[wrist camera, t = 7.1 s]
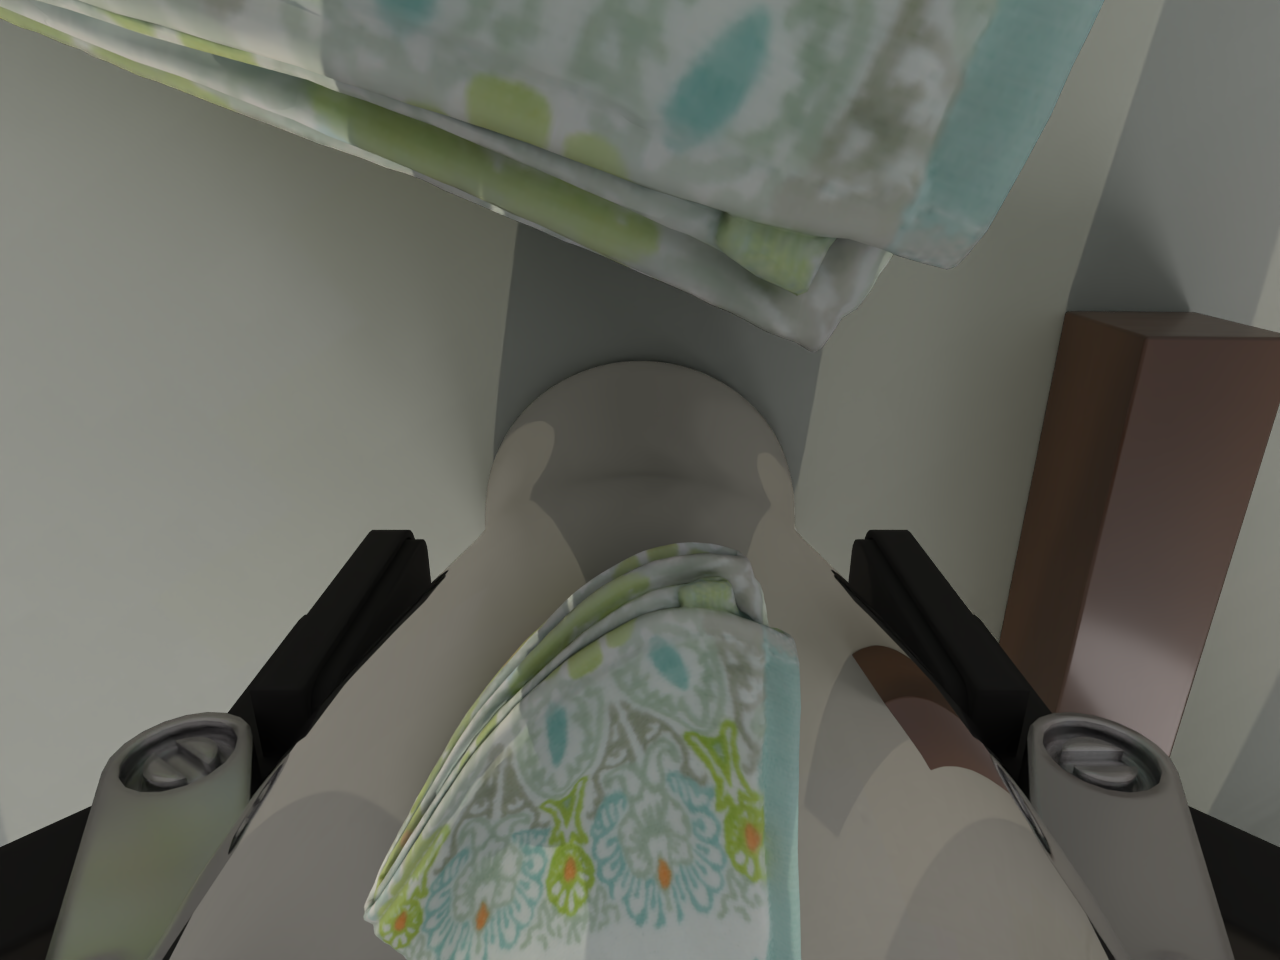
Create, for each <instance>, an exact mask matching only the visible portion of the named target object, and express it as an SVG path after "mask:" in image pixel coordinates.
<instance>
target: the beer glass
mask: <svg viewBox="0 0 1280 960" xmlns="http://www.w3.org/2000/svg"><path fill="white" fill-rule="evenodd" d="M147 960H1131V959H1130V957H1129V955H1128V954H1127V952H1126V950H1125V948H1124V947H1123V945H1122V943H1121V942H1120V940H1119V938H1118V937H1117V935H1116V933H1115V931H1114V930H1113V928H1112V926H1111V925H1110V923H1109V921H1108V920H1107V918H1106V916H1105V914H1104V913H1103V911H1102V909H1101V908H1100V906H1099V904H1098V903H1097V901H1096V899H1095V898H1094V896H1093V895H1092V893H1091V892H1090V890H1089V889H1088V887H1087V886H1086V884H1085V883H1084V881H1083V880H1082V878H1081V877H1080V875H1079V874H1078V872H1077V871H1076V869H1075V868H1074V866H1073V865H1072V863H1071V862H1070V860H1069V859H1068V858H1067V856H1066V855H1065V853H1064V852H1063V850H1062V849H1061V847H1060V846H1059V844H1058V843H1057V841H1056V840H1055V838H1054V837H1053V835H1052V834H1051V832H1050V831H1049V829H1048V828H1047V826H1046V825H1045V823H1044V822H1043V820H1042V819H1041V818H1040V816H1039V815H1038V813H1037V812H1036V810H1035V809H1034V807H1033V806H1032V804H1031V803H1030V801H1029V800H1028V798H1027V797H1026V795H1025V794H1024V792H1023V791H1022V789H1021V788H1020V786H1019V785H1018V783H1017V782H1016V780H1015V779H1014V778H1013V776H1012V775H1011V773H1010V772H1009V770H1008V769H1007V767H1006V766H1005V764H1004V763H1003V761H1002V760H1001V758H1000V757H999V755H998V754H997V752H996V751H995V749H994V748H993V747H992V745H991V744H990V742H989V741H988V740H987V738H986V737H985V736H984V734H983V733H982V732H981V731H980V729H979V728H978V727H977V726H976V725H975V723H974V722H973V721H972V720H971V719H970V717H969V716H968V715H967V714H966V713H965V712H964V710H963V709H962V708H961V707H960V706H959V704H958V703H957V702H956V701H955V700H954V699H953V697H952V696H951V695H950V694H949V693H948V691H947V690H946V689H945V688H944V687H943V686H942V684H941V683H940V682H939V681H938V680H937V678H936V677H935V676H934V675H933V674H932V673H931V671H930V670H929V669H928V668H927V667H926V665H925V664H924V663H923V662H922V661H921V660H920V658H919V657H918V656H917V655H916V654H915V652H914V651H913V650H912V649H911V648H910V647H909V645H908V644H907V643H906V642H905V641H904V640H903V639H902V637H901V636H900V635H899V634H898V633H897V632H896V631H895V630H894V629H893V628H892V627H891V626H890V625H889V624H888V623H887V622H886V621H885V620H884V619H883V618H882V617H881V616H880V614H879V613H878V612H877V611H876V610H875V609H874V608H873V607H872V606H871V605H870V604H869V603H868V602H867V601H866V600H865V599H864V598H863V597H862V596H861V595H860V594H859V593H858V592H857V591H856V590H855V589H854V588H853V587H852V586H851V585H850V584H849V583H848V582H847V581H846V580H845V579H844V578H843V577H842V576H841V575H840V574H839V573H838V572H837V571H836V570H835V569H834V568H833V567H832V566H831V565H830V564H829V563H828V562H827V561H826V560H825V559H824V558H823V557H822V556H821V555H820V554H819V553H818V552H817V551H816V550H815V549H814V548H812V547H811V546H810V545H809V544H808V543H807V542H806V541H805V540H804V539H803V538H802V537H801V535H800V534H799V533H798V532H797V531H796V530H795V505H794V492H793V485H792V480H791V475H790V471H789V467H788V464H787V461H786V458H785V455H784V452H783V450H782V447H781V445H780V443H779V441H778V439H777V437H776V435H775V434H774V432H773V430H772V429H771V427H770V426H769V424H768V423H767V422H766V420H765V419H764V418H763V417H762V415H761V414H760V413H759V412H758V411H757V410H756V409H755V408H754V407H753V406H752V405H751V404H750V403H749V402H748V401H747V400H746V399H745V398H744V397H742V396H741V395H740V394H739V393H737V392H736V391H735V390H733V389H732V388H730V387H729V386H727V385H725V384H724V383H722V382H720V381H718V380H717V379H715V378H713V377H711V376H708V375H706V374H704V373H702V372H699V371H696V370H693V369H690V368H687V367H683V366H680V365H675V364H670V363H664V362H655V361H626V362H617V363H611V364H606V365H602V366H598V367H594V368H591V369H588V370H585V371H582V372H580V373H577V374H575V375H573V376H571V377H568V378H567V379H565V380H563V381H561V382H559V383H557V384H556V385H554V386H553V387H551V388H549V389H548V390H547V391H545V392H544V393H543V394H541V395H540V396H539V397H538V398H536V399H535V400H534V401H533V402H532V403H531V404H530V405H529V406H528V407H527V408H526V409H525V410H524V411H523V412H522V413H521V414H520V416H519V417H518V418H517V419H516V421H515V422H514V423H513V425H512V426H511V427H510V429H509V431H508V432H507V434H506V435H505V437H504V439H503V441H502V443H501V445H500V447H499V449H498V452H497V454H496V457H495V459H494V462H493V465H492V468H491V472H490V475H489V480H488V486H487V493H486V504H485V530H484V532H483V533H482V534H481V535H480V536H479V537H478V538H477V539H476V540H475V541H474V542H473V543H472V544H471V545H470V546H469V547H468V548H467V549H466V550H465V551H464V552H463V553H462V554H461V555H460V556H459V557H457V558H456V559H455V560H454V561H453V562H452V563H451V564H450V565H449V566H448V567H447V568H446V569H445V570H444V571H443V572H442V573H441V574H440V575H439V576H438V577H437V578H436V579H435V580H434V581H433V582H432V583H431V584H430V585H429V586H428V587H427V588H426V589H425V590H424V591H423V592H422V593H421V594H420V595H419V596H418V597H417V598H416V599H415V600H414V601H413V602H412V603H411V604H410V605H409V606H408V607H407V608H406V609H405V610H404V611H403V612H402V613H401V614H400V615H399V616H398V617H397V618H396V619H395V620H394V621H393V622H392V623H391V624H390V625H389V626H388V627H387V628H386V629H385V630H384V631H383V633H382V634H381V635H380V636H379V637H378V638H377V639H376V640H375V642H374V643H373V644H372V645H371V646H370V647H369V649H368V650H367V651H366V652H365V653H364V654H363V656H362V657H361V658H360V659H359V660H358V661H357V663H356V664H355V665H354V666H353V667H352V668H351V670H350V671H349V672H348V673H347V674H346V675H345V677H344V678H343V679H342V680H341V681H340V683H339V684H338V685H337V686H336V687H335V688H334V690H333V691H332V692H331V693H330V694H329V695H328V697H327V698H326V699H325V700H324V701H323V702H322V704H321V705H320V706H319V707H318V708H317V709H316V711H315V712H314V713H313V714H312V715H311V716H310V718H309V719H308V720H307V721H306V722H305V724H304V725H303V726H302V727H301V728H300V729H299V731H298V732H297V733H296V734H295V736H294V737H293V738H292V740H291V741H290V742H289V744H288V745H287V746H286V748H285V749H284V751H283V752H282V754H281V755H280V757H279V758H278V760H277V761H276V763H275V764H274V765H273V767H272V768H271V770H270V771H269V773H268V774H267V776H266V777H265V779H264V780H263V782H262V783H261V785H260V786H259V788H258V789H257V790H256V792H255V793H254V795H253V796H252V798H251V799H250V801H249V802H248V804H247V805H246V807H245V808H244V810H243V811H242V813H241V814H240V815H239V817H238V818H237V820H236V821H235V823H234V824H233V826H232V827H231V829H230V830H229V832H228V833H227V835H226V836H225V838H224V839H223V840H222V842H221V843H220V845H219V846H218V848H217V849H216V851H215V852H214V854H213V855H212V857H211V858H210V860H209V861H208V863H207V864H206V866H205V867H204V868H203V870H202V871H201V873H200V874H199V876H198V877H197V879H196V880H195V882H194V883H193V885H192V886H191V888H190V889H189V891H188V892H187V894H186V895H185V897H184V899H183V900H182V902H181V903H180V905H179V907H178V908H177V910H176V912H175V913H174V915H173V917H172V919H171V920H170V922H169V924H168V925H167V927H166V929H165V930H164V932H163V934H162V935H161V937H160V939H159V940H158V942H157V944H156V945H155V947H154V949H153V951H152V952H151V954H150V956H149V957H148V959H147Z"/></svg>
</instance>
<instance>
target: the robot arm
mask: <svg viewBox="0 0 1280 960" xmlns="http://www.w3.org/2000/svg"><path fill="white" fill-rule="evenodd" d="M430 584H431V578H430V568H429V559H428V550H427V545H426V542H425V541H424V540H423V539H415V538H414V535H413V533H412V532H411V530H372V531H370V532H369V534H368V535H367V536H366V537H365V539H364V540H363V541H362V543H361V544H360V545H359V547H358V548H357V549H356V551H355V552H354V553H353V555H352V556H351V557H350V559H349V560H348V561H347V562H346V564H345V565H344V566H343V568H342V569H341V570H340V572H339V573H338V574H337V576H336V577H335V578H334V580H333V581H332V582H331V584H330V585H329V586H328V587H327V589H326V590H325V591H324V593H323V594H322V595H321V597H320V598H319V599H318V601H317V602H316V603H315V605H314V606H313V607H312V609H311V610H310V611H309V613H308V614H307V615H304V616H303V617H302V618H301V619H300V620H299V621H298V622H297V623H296V625H295V626H294V627H293V629H292V630H291V631H290V633H289V634H288V635H287V636H286V638H285V639H284V640H283V642H282V643H281V644H280V646H279V647H278V648H277V649H276V651H275V652H274V653H273V655H272V656H271V657H270V659H269V660H268V661H267V662H266V664H265V665H264V666H263V668H262V669H261V670H260V672H259V673H258V674H257V675H256V677H255V678H254V679H253V681H252V682H251V683H250V685H249V686H248V687H247V689H246V690H245V691H244V692H243V694H242V695H241V696H240V698H239V699H238V700H237V702H236V703H235V704H234V705H233V707H232V708H231V709H230V711H229V712H228V713H217V712H205V713H198V714H191V715H185V716H182V717H178V718H175V719H172V720H168V721H165V722H163V723H160V724H158V725H156V726H154V727H152V728H150V729H147V730H145V731H143V732H141V733H140V734H138V735H137V736H135V737H134V738H132V739H131V740H129V741H128V742H126V743H125V744H124V745H123V746H122V747H120V748H119V749H118V750H117V751H116V752H115V753H114V754H113V755H112V756H111V757H110V758H109V760H108V762H107V764H106V766H105V768H104V769H103V771H102V773H101V777H100V780H99V783H98V787H97V790H96V793H95V797H94V800H93V803H92V806H90V807H88V808H86V809H84V810H82V811H79V812H77V813H75V814H73V815H71V816H68V817H66V818H64V819H62V820H59V821H57V822H55V823H53V824H51V825H48V826H46V827H44V828H42V829H40V830H37V831H35V832H33V833H31V834H29V835H26V836H24V837H22V838H20V839H18V840H15V841H13V842H11V843H9V844H6V845H4V846H2V847H0V960H147V959H148V957H149V956H150V954H151V952H152V951H153V949H154V947H155V945H156V944H157V942H158V940H159V939H160V937H161V935H162V934H163V932H164V930H165V929H166V927H167V925H168V924H169V922H170V920H171V919H172V917H173V915H174V913H175V912H176V910H177V908H178V907H179V905H180V903H181V902H182V900H183V899H184V897H185V895H186V894H187V892H188V891H189V889H190V888H191V886H192V885H193V883H194V882H195V880H196V879H197V877H198V876H199V874H200V873H201V871H202V870H203V868H204V867H205V866H206V864H207V863H208V861H209V860H210V858H211V857H212V855H213V854H214V852H215V851H216V849H217V848H218V846H219V845H220V843H221V842H222V840H223V839H224V838H225V836H226V835H227V833H228V832H229V830H230V829H231V827H232V826H233V824H234V823H235V821H236V820H237V818H238V817H239V815H240V814H241V813H242V811H243V810H244V808H245V807H246V805H247V804H248V802H249V801H250V799H251V798H252V796H253V795H254V793H255V792H256V790H257V789H258V788H259V786H260V785H261V783H262V782H263V780H264V779H265V777H266V776H267V774H268V773H269V771H270V770H271V768H272V767H273V765H274V764H275V763H276V761H277V760H278V758H279V757H280V755H281V754H282V752H283V751H284V749H285V748H286V746H287V745H288V744H289V742H290V741H291V740H292V738H293V737H294V736H295V734H296V733H297V732H298V731H299V729H300V728H301V727H302V726H303V725H304V724H305V722H306V721H307V720H308V719H309V718H310V716H311V715H312V714H313V713H314V712H315V711H316V709H317V708H318V707H319V706H320V705H321V704H322V702H323V701H324V700H325V699H326V698H327V697H328V695H329V694H330V693H331V692H332V691H333V690H334V688H335V687H336V686H337V685H338V684H339V683H340V681H341V680H342V679H343V678H344V677H345V675H346V674H347V673H348V672H349V671H350V670H351V668H352V667H353V666H354V665H355V664H356V663H357V661H358V660H359V659H360V658H361V657H362V656H363V654H364V653H365V652H366V651H367V650H368V649H369V647H370V646H371V645H372V644H373V643H374V642H375V640H376V639H377V638H378V637H379V636H380V635H381V634H382V633H383V631H384V630H385V629H386V628H387V627H388V626H389V625H390V624H391V623H392V622H393V621H394V620H395V619H396V618H397V617H398V616H399V615H400V614H401V613H402V612H403V611H404V610H405V609H406V608H407V607H408V606H409V605H410V604H411V603H412V602H413V601H414V600H415V599H416V598H417V597H418V596H419V595H420V594H421V593H422V592H423V591H424V590H425V589H426V588H427V587H428V586H429V585H430ZM849 584H850V585H851V586H852V587H853V588H854V589H855V590H856V591H857V592H858V593H859V594H860V595H861V596H862V597H863V598H864V599H865V600H866V601H867V602H868V603H869V604H870V605H871V606H872V607H873V608H874V609H875V610H876V611H877V612H878V613H879V614H880V616H881V617H882V618H883V619H884V620H885V621H886V622H887V623H888V624H889V625H890V626H891V627H892V628H893V629H894V630H895V631H896V632H897V633H898V634H899V635H900V636H901V637H902V639H903V640H904V641H905V642H906V643H907V644H908V645H909V647H910V648H911V649H912V650H913V651H914V652H915V654H916V655H917V656H918V657H919V658H920V660H921V661H922V662H923V663H924V664H925V665H926V667H927V668H928V669H929V670H930V671H931V673H932V674H933V675H934V676H935V677H936V678H937V680H938V681H939V682H940V683H941V684H942V686H943V687H944V688H945V689H946V690H947V691H948V693H949V694H950V695H951V696H952V697H953V699H954V700H955V701H956V702H957V703H958V704H959V706H960V707H961V708H962V709H963V710H964V712H965V713H966V714H967V715H968V716H969V717H970V719H971V720H972V721H973V722H974V723H975V725H976V726H977V727H978V728H979V729H980V731H981V732H982V733H983V734H984V736H985V737H986V738H987V740H988V741H989V742H990V744H991V745H992V747H993V748H994V749H995V751H996V752H997V754H998V755H999V757H1000V758H1001V760H1002V761H1003V763H1004V764H1005V766H1006V767H1007V769H1008V770H1009V772H1010V773H1011V775H1012V776H1013V778H1014V779H1015V780H1016V782H1017V783H1018V785H1019V786H1020V788H1021V789H1022V791H1023V792H1024V794H1025V795H1026V797H1027V798H1028V800H1029V801H1030V803H1031V804H1032V806H1033V807H1034V809H1035V810H1036V812H1037V813H1038V815H1039V816H1040V818H1041V819H1042V820H1043V822H1044V823H1045V825H1046V826H1047V828H1048V829H1049V831H1050V832H1051V834H1052V835H1053V837H1054V838H1055V840H1056V841H1057V843H1058V844H1059V846H1060V847H1061V849H1062V850H1063V852H1064V853H1065V855H1066V856H1067V858H1068V859H1069V860H1070V862H1071V863H1072V865H1073V866H1074V868H1075V869H1076V871H1077V872H1078V874H1079V875H1080V877H1081V878H1082V880H1083V881H1084V883H1085V884H1086V886H1087V887H1088V889H1089V890H1090V892H1091V893H1092V895H1093V896H1094V898H1095V899H1096V901H1097V903H1098V904H1099V906H1100V908H1101V909H1102V911H1103V913H1104V914H1105V916H1106V918H1107V920H1108V921H1109V923H1110V925H1111V926H1112V928H1113V930H1114V931H1115V933H1116V935H1117V937H1118V938H1119V940H1120V942H1121V943H1122V945H1123V947H1124V948H1125V950H1126V952H1127V954H1128V955H1129V957H1130V959H1131V960H1280V847H1278V846H1275V845H1273V844H1271V843H1269V842H1267V841H1264V840H1262V839H1260V838H1258V837H1256V836H1253V835H1251V834H1249V833H1247V832H1245V831H1242V830H1240V829H1238V828H1236V827H1234V826H1231V825H1229V824H1227V823H1225V822H1222V821H1220V820H1218V819H1216V818H1214V817H1211V816H1209V815H1207V814H1205V813H1203V812H1200V811H1198V810H1196V809H1194V808H1192V807H1189V806H1188V803H1187V800H1186V797H1185V793H1184V790H1183V787H1182V783H1181V780H1180V777H1179V773H1178V771H1177V769H1176V768H1175V766H1174V764H1173V762H1172V760H1171V758H1170V757H1169V756H1168V755H1167V754H1166V753H1165V752H1164V751H1163V750H1162V749H1161V748H1160V747H1158V746H1157V745H1156V744H1155V743H1154V742H1152V741H1151V740H1149V739H1148V738H1146V737H1145V736H1143V735H1142V734H1140V733H1139V732H1137V731H1135V730H1133V729H1130V728H1128V727H1126V726H1124V725H1122V724H1120V723H1117V722H1115V721H1112V720H1108V719H1105V718H1102V717H1098V716H1095V715H1089V714H1082V713H1075V712H1063V713H1052V712H1051V711H1050V710H1049V709H1048V707H1047V706H1046V705H1045V703H1044V702H1043V701H1042V699H1041V698H1040V697H1039V696H1038V694H1037V693H1036V692H1035V690H1034V689H1033V688H1032V686H1031V685H1030V684H1029V683H1028V681H1027V680H1026V679H1025V677H1024V676H1023V675H1022V673H1021V672H1020V671H1019V670H1018V668H1017V667H1016V666H1015V664H1014V663H1013V662H1012V660H1011V659H1010V658H1009V656H1008V655H1007V654H1006V653H1005V651H1004V650H1003V649H1002V647H1001V646H1000V645H999V643H998V642H997V641H996V640H995V638H994V637H993V636H992V634H991V633H990V632H989V630H988V629H987V628H986V627H985V625H984V624H983V623H982V621H981V620H980V619H979V618H978V617H977V616H975V615H973V614H972V613H971V612H970V610H969V609H968V608H967V606H966V605H965V604H964V603H963V601H962V600H961V599H960V597H959V596H958V595H957V593H956V592H955V591H954V589H953V588H952V587H951V585H950V584H949V583H948V581H947V580H946V579H945V578H944V576H943V575H942V574H941V572H940V571H939V570H938V568H937V567H936V566H935V564H934V563H933V562H932V560H931V559H930V558H929V556H928V555H927V554H926V553H925V551H924V550H923V549H922V547H921V546H920V545H919V543H918V542H917V541H916V539H915V538H914V537H913V535H912V534H911V533H910V532H909V531H908V530H869V531H868V532H867V534H866V537H865V539H857V540H855V541H854V544H853V548H852V555H851V564H850V574H849Z"/></svg>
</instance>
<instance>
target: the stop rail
mask: <svg viewBox="0 0 1280 960" xmlns="http://www.w3.org/2000/svg"><path fill="white" fill-rule="evenodd" d="M1279 404H1280V333H1277V332H1273V331H1269V330H1265V329H1260V328H1256V327H1252V326H1248V325H1244V324H1240V323H1236V322H1232V321H1228V320H1224V319H1219V318H1215V317H1211V316H1207V315H1203V314H1199V313H1195V312H1098V311H1069V312H1066V314H1065V318H1064V323H1063V328H1062V333H1061V338H1060V343H1059V348H1058V353H1057V358H1056V363H1055V368H1054V373H1053V378H1052V383H1051V388H1050V393H1049V398H1048V403H1047V408H1046V413H1045V418H1044V423H1043V428H1042V433H1041V438H1040V443H1039V448H1038V453H1037V458H1036V463H1035V468H1034V473H1033V478H1032V483H1031V488H1030V493H1029V498H1028V502H1027V507H1026V512H1025V517H1024V522H1023V527H1022V532H1021V537H1020V542H1019V547H1018V552H1017V557H1016V562H1015V567H1014V572H1013V577H1012V582H1011V587H1010V592H1009V597H1008V602H1007V607H1006V612H1005V617H1004V622H1003V627H1002V632H1001V637H1000V642H999V645H1000V646H1001V647H1002V649H1003V650H1004V651H1005V653H1006V654H1007V655H1008V656H1009V658H1010V659H1011V660H1012V662H1013V663H1014V664H1015V666H1016V667H1017V668H1018V670H1019V671H1020V672H1021V673H1022V675H1023V676H1024V677H1025V679H1026V680H1027V681H1028V683H1029V684H1030V685H1031V686H1032V688H1033V689H1034V690H1035V692H1036V693H1037V694H1038V696H1039V697H1040V698H1041V699H1042V701H1043V702H1044V703H1045V705H1046V706H1047V707H1048V709H1049V710H1050V711H1051V712H1052V713H1063V712H1075V713H1082V714H1089V715H1095V716H1098V717H1102V718H1105V719H1108V720H1112V721H1115V722H1117V723H1120V724H1122V725H1124V726H1126V727H1128V728H1130V729H1133V730H1135V731H1137V732H1139V733H1140V734H1142V735H1143V736H1145V737H1146V738H1148V739H1149V740H1151V741H1152V742H1154V743H1155V744H1156V745H1157V746H1158V747H1160V748H1161V749H1162V750H1163V751H1164V752H1165V753H1166V754H1167V755H1168V756H1169V757H1170V754H1171V751H1172V748H1173V745H1174V741H1175V738H1176V735H1177V732H1178V729H1179V725H1180V722H1181V719H1182V716H1183V712H1184V709H1185V706H1186V703H1187V700H1188V696H1189V693H1190V690H1191V687H1192V684H1193V680H1194V677H1195V674H1196V671H1197V667H1198V664H1199V661H1200V658H1201V655H1202V651H1203V648H1204V645H1205V642H1206V639H1207V635H1208V632H1209V629H1210V626H1211V622H1212V619H1213V616H1214V613H1215V610H1216V606H1217V603H1218V600H1219V597H1220V594H1221V590H1222V587H1223V584H1224V581H1225V577H1226V574H1227V571H1228V568H1229V565H1230V561H1231V558H1232V555H1233V552H1234V548H1235V545H1236V542H1237V539H1238V536H1239V532H1240V529H1241V526H1242V523H1243V520H1244V516H1245V513H1246V510H1247V507H1248V503H1249V500H1250V497H1251V494H1252V491H1253V487H1254V484H1255V481H1256V478H1257V475H1258V471H1259V468H1260V465H1261V462H1262V458H1263V455H1264V452H1265V449H1266V446H1267V442H1268V439H1269V436H1270V433H1271V430H1272V426H1273V423H1274V420H1275V417H1276V413H1277V410H1278V407H1279Z"/></svg>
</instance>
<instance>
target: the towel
mask: <svg viewBox="0 0 1280 960" xmlns="http://www.w3.org/2000/svg"><path fill="white" fill-rule="evenodd" d="M1103 2H1104V0H0V18H1V19H3V20H5V21H8V22H10V23H12V24H14V25H17V26H19V27H21V28H24V29H28V30H31V31H35V32H38V33H40V34H42V35H45V36H47V37H49V38H52V39H54V40H56V41H58V42H61V43H63V44H66V45H69V46H72V47H75V48H78V49H81V50H82V51H84V52H86V53H87V54H89V55H90V56H93V57H96V58H99V59H101V60H104V61H107V62H110V63H112V64H114V65H116V66H118V67H120V68H122V69H125V70H127V71H130V72H132V73H134V74H136V75H138V76H141V77H143V78H147V79H151V80H154V81H157V82H160V83H162V84H165V85H167V86H170V87H173V88H175V89H178V90H180V91H183V92H185V93H188V94H191V95H193V96H196V97H198V98H201V99H203V100H206V101H208V102H211V103H214V104H216V105H219V106H221V107H224V108H226V109H229V110H232V111H234V112H237V113H240V114H242V115H245V116H248V117H250V118H253V119H256V120H258V121H261V122H264V123H266V124H269V125H272V126H275V127H277V128H280V129H283V130H285V131H288V132H290V133H293V134H295V135H298V136H300V137H303V138H305V139H308V140H310V141H313V142H315V143H318V144H320V145H324V146H327V147H331V148H334V149H337V150H340V151H343V152H346V153H348V154H351V155H354V156H357V157H360V158H363V159H365V160H368V161H370V162H373V163H375V164H378V165H380V166H383V167H385V168H389V169H392V170H396V171H399V172H403V173H406V174H409V175H411V176H414V177H417V178H419V179H422V180H424V181H426V182H428V183H430V184H432V185H434V186H436V187H438V188H440V189H442V190H444V191H447V192H449V193H452V194H454V195H457V196H459V197H461V198H464V199H466V200H469V201H471V202H474V203H476V204H478V205H481V206H483V207H485V208H487V209H490V210H492V211H494V212H497V213H499V214H501V215H504V216H506V217H508V218H511V219H513V220H516V221H518V222H521V223H523V224H526V225H528V226H531V227H533V228H536V229H538V230H540V231H542V232H545V233H547V234H549V235H551V236H554V237H556V238H558V239H560V240H563V241H565V242H567V243H571V244H574V245H577V246H580V247H582V248H585V249H587V250H589V251H592V252H594V253H597V254H599V255H602V256H604V257H606V258H609V259H611V260H613V261H615V262H617V263H620V264H622V265H624V266H626V267H629V268H631V269H633V270H635V271H637V272H640V273H642V274H644V275H647V276H649V277H652V278H654V279H656V280H659V281H661V282H664V283H666V284H668V285H671V286H673V287H675V288H677V289H680V290H682V291H684V292H687V293H689V294H691V295H693V296H695V297H697V298H699V299H701V300H703V301H705V302H707V303H709V304H711V305H713V306H716V307H718V308H721V309H723V310H726V311H728V312H730V313H732V314H734V315H736V316H738V317H740V318H742V319H744V320H746V321H748V322H750V323H751V324H753V325H755V326H757V327H758V328H760V329H762V330H764V331H766V332H769V333H771V334H774V335H777V336H779V337H782V338H785V339H787V340H790V341H793V342H796V343H798V344H799V345H801V346H802V347H804V348H806V349H807V350H809V351H811V352H817V351H818V350H819V349H820V348H822V347H823V346H824V345H825V343H826V342H827V340H828V339H829V337H830V336H831V334H832V333H833V331H834V330H835V328H836V327H837V325H838V324H839V322H840V321H841V319H842V318H843V317H844V316H846V315H848V314H849V313H851V312H852V311H854V310H856V309H857V308H858V307H859V305H860V304H861V303H862V302H863V300H864V299H865V298H866V296H867V295H868V294H869V293H870V291H871V289H872V288H873V286H874V284H875V282H876V280H877V278H878V276H879V274H880V273H881V272H882V270H883V269H884V268H885V267H886V266H887V264H888V263H889V261H890V259H891V258H892V256H893V255H894V254H895V255H897V256H900V257H904V258H907V259H910V260H914V261H917V262H921V263H924V264H928V265H932V266H936V267H940V268H943V269H950V268H953V267H955V266H957V265H958V264H959V263H960V262H961V261H962V260H963V259H964V258H965V257H966V256H967V255H968V254H969V252H970V251H971V250H972V249H973V248H974V246H975V245H976V244H977V243H978V241H979V240H980V239H981V238H982V236H983V235H984V234H985V233H986V231H987V230H988V228H989V227H990V225H991V223H992V221H993V220H994V218H995V216H996V214H997V213H998V211H999V209H1000V207H1001V205H1002V204H1003V202H1004V200H1005V198H1006V197H1007V195H1008V193H1009V191H1010V189H1011V188H1012V186H1013V184H1014V182H1015V180H1016V179H1017V177H1018V175H1019V173H1020V171H1021V170H1022V168H1023V166H1024V164H1025V162H1026V161H1027V159H1028V157H1029V155H1030V153H1031V151H1032V150H1033V148H1034V146H1035V144H1036V142H1037V140H1038V138H1039V137H1040V135H1041V133H1042V131H1043V129H1044V127H1045V125H1046V123H1047V122H1048V120H1049V118H1050V116H1051V114H1052V112H1053V109H1054V107H1055V105H1056V102H1057V100H1058V98H1059V96H1060V93H1061V91H1062V89H1063V86H1064V84H1065V82H1066V80H1067V77H1068V75H1069V73H1070V71H1071V68H1072V66H1073V64H1074V62H1075V60H1076V58H1077V56H1078V54H1079V52H1080V50H1081V48H1082V46H1083V44H1084V42H1085V40H1086V38H1087V36H1088V34H1089V32H1090V30H1091V28H1092V26H1093V23H1094V21H1095V19H1096V17H1097V15H1098V13H1099V11H1100V9H1101V6H1102V4H1103Z"/></svg>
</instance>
